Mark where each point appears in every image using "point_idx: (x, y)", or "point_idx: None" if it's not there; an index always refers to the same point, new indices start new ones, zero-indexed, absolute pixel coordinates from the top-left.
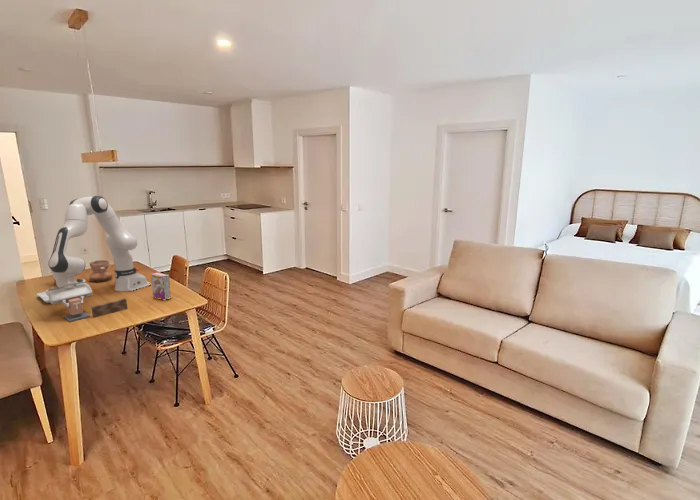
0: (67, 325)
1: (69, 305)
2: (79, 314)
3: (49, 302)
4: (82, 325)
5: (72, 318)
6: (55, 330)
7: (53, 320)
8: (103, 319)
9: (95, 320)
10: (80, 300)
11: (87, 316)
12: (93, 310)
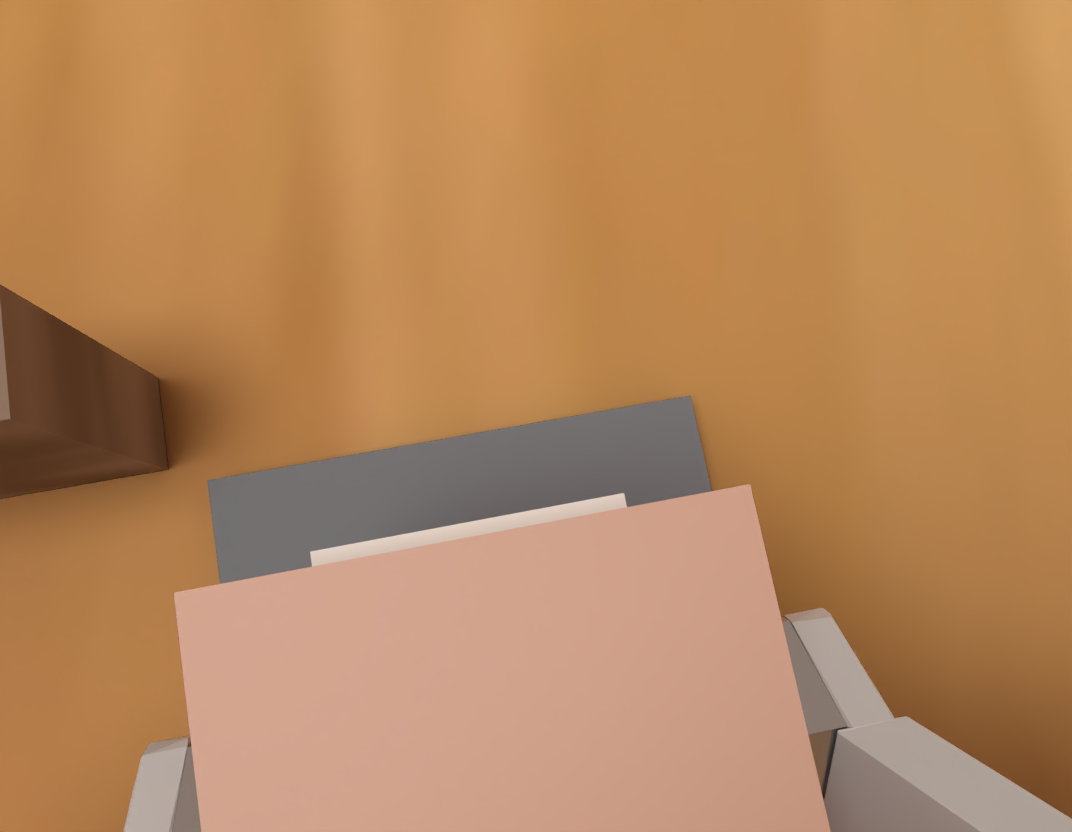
0: (740, 225)
1: None
2: None
3: None
4: (475, 23)
5: None
6: (959, 88)
7: None
8: (19, 96)
9: (182, 148)
10: (235, 582)
11: (278, 470)
12: (48, 324)
